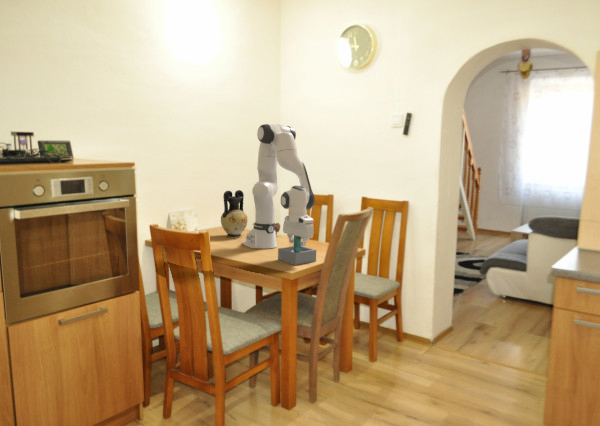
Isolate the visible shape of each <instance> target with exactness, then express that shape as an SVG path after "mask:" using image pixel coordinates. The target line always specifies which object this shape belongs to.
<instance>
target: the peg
mask: <svg viewBox="0 0 600 426" xmlns="http://www.w3.org/2000/svg"><path fill="white" fill-rule="evenodd" d="M293 239H294V242H293V246H294V249H293V252H296V253H297V252H301V242H302V241H303V237H299V236H295V235H293Z"/></svg>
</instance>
